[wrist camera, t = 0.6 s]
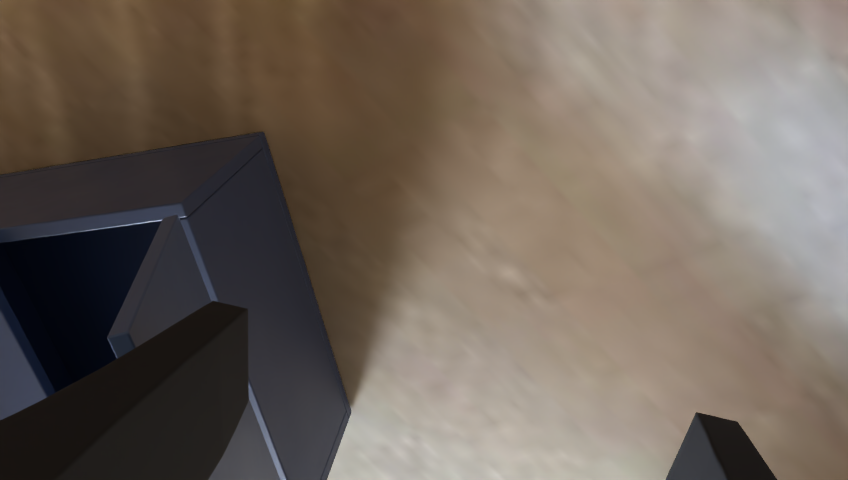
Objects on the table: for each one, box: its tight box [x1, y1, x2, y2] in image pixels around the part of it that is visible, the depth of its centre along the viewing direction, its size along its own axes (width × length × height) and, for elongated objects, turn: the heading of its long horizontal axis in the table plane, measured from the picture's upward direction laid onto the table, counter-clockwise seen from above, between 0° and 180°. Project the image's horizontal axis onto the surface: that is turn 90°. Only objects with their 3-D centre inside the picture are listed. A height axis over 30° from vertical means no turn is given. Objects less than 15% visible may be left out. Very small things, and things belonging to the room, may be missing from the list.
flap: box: [107, 215, 280, 480], centre depth 15 cm, size 5×11×1 cm
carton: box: [0, 132, 351, 480], centre depth 21 cm, size 11×11×6 cm
